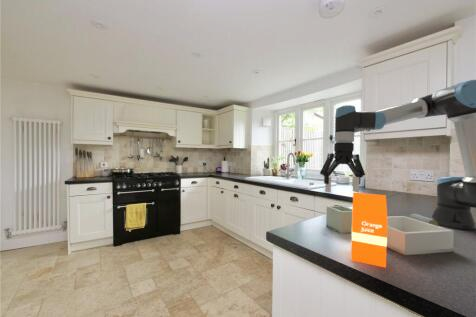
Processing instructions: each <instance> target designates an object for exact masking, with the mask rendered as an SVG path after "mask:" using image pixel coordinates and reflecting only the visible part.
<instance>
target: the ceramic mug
mask: <svg viewBox="0 0 476 317" xmlns="http://www.w3.org/2000/svg"><path fill="white" fill-rule="evenodd" d="M407 217H408V218H412V219H415V220H419V221H422V222H425V223H429V224H432V225H436V226H439V227H440V225H439V224H438V223H437V222H436V221H435V220H433V219H432V217H427V216H425V215H421V214H418V213H412V214H410V215H409V216H407Z"/></svg>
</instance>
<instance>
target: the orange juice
mask: <svg viewBox="0 0 476 317" xmlns="http://www.w3.org/2000/svg"><path fill="white" fill-rule="evenodd" d="M352 192H353V194H352V208H351V209H352V233H351V242H350V243H351V249H350V250H351V251H350V254H351V255H350V256H351V257H350V259H351V261H354V262H359V263H364V264H367V265H373V266H376V267H380V268H381V267H382V268H386V267H387V249H388V247H387V218H388V217H389V216H388V208H387V195H385V194H376V193H364V192H354V191H352Z"/></svg>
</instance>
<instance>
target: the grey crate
mask: <svg viewBox="0 0 476 317" xmlns="http://www.w3.org/2000/svg"><path fill="white" fill-rule="evenodd" d="M387 217H388V218H387V249H391V250H393V251H394V252H397V253H398V254H401V255H403V256H413V255H424V254H425V255H426V254H427V255H428V254H436V253H448V252H451V253H452V252H454V236H455V235H454V234H455V231H454V230H452V229H449V228H446V227H442V226H440V225H439V226H436V225H432V224H429V223H425V222H422V221H419V220H415V219H412V218H408V217H409V216H405V215H400V216H399V215H395V216H394V215H393V216H387Z"/></svg>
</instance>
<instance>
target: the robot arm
mask: <svg viewBox="0 0 476 317" xmlns="http://www.w3.org/2000/svg"><path fill="white" fill-rule="evenodd" d="M436 116H437V117H439V116H446V118H447V120H449V121H451V122H453V125H454V126H453V128H454V130H455V135H456V140H457V143H458V147H459V153H460V156H461V160H462V165H463V168H464V172H465V174H464V175H465V176H440V177H439V178H438V179H437V184H436V207H435V209H434V211H433V214H432V215H431V219H433V220H435V221H436V222H437V223H438V225H439V226H444V227H448V228H453V229H459V230H467V231H468V230H471V231H472V230H473V231H474V230H476V221H475V218H474V215H473V213H472V208H474V209H476V79H470V80H466V81H461V82H459V83H457V84H454V85H451V86H448V87H445V88H443V89H440V90H437V91H435V92H432V93H430V94H427V95H424V96H422V97H419V98H415V99H413V101H412V102H408V103H405V104H400V105H396V106H393V107H392V106H391V107H388V108H385V109H380V110H376V111H360V110H359V111H358V110H356V107H355V106H354V105H351V104H350V105H348V104H347V105H340V106H338V107H336V111H335V117H334V120H335V121H334V145H333V147H334V148H333V151H334V153H332V152H328V153H327V155H326V156H327V157H326V159H325V162H324V164H323V166H322V168H321V170H320V172H319V174H320V175H321V176H323V179H324V180H323V183H324V185H325V190H324V191H325V192H327V193H332V192H331V191H332V190H331V189H332V176H331V175H332V173H333V172H334V171H335V169H337V167H338V166H339V165H346V166H348V168H349V169H350V171H351V172H352V174H353V175H354V176H353V177H352V178H353V179H352V180H353V181H352V192H354V193H360V184H361V178H363V177H364V176H365V175H366V173H365V169H364V167H363V165H362V163H361V160H360V154H359V153H357V154H355V153H353V152H354V150H355V149H354V148H355V147H354V146H355V144H354V143H353V142H355V133H360V132H364V131H365V132H366V131H369V130H373V131H375V130H376V131H377V130H378V131H379V130H382V129H383V128H384V127H385V126H386V125H391V124H395V123H399V122H403V121H407V120H411V119H424V118H429V117H436Z"/></svg>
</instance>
